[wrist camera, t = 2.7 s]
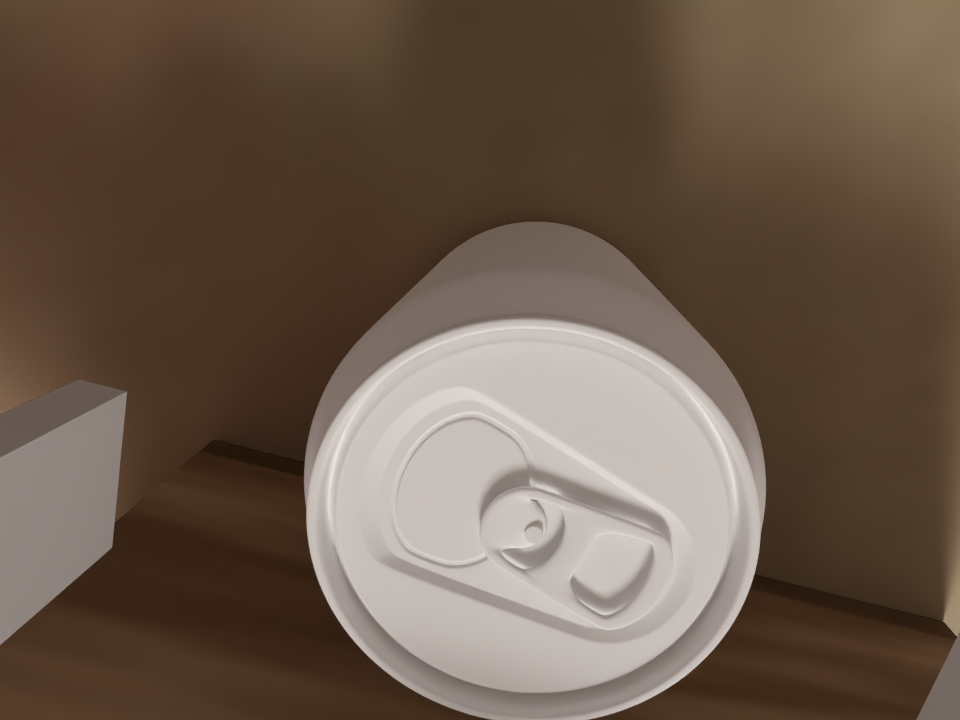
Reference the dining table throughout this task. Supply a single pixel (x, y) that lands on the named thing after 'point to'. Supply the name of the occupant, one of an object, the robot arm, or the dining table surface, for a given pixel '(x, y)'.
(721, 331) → the dining table surface
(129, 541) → the crate
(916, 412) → the dining table surface
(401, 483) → the beverage can
